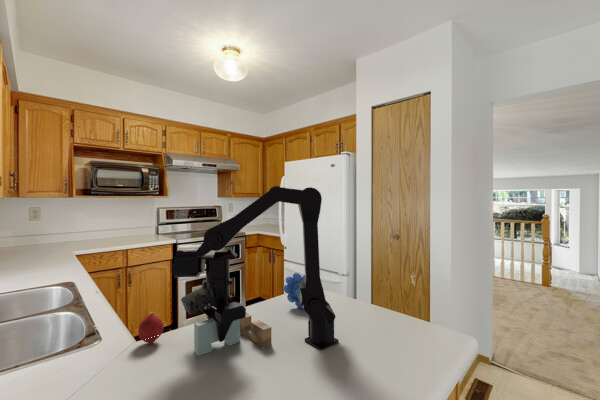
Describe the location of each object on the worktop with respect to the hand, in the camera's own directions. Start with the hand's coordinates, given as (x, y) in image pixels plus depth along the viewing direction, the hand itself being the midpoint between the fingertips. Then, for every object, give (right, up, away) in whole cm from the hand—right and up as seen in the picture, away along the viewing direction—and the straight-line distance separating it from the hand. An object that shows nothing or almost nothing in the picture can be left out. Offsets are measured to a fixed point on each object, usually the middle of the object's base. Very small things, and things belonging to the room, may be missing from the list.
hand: (218, 338), depth 73 cm
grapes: (+21, -2, +26) cm, 33 cm away
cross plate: (0, -2, 0) cm, 2 cm away
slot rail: (+7, -2, +6) cm, 10 cm away
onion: (-18, -2, +2) cm, 18 cm away
